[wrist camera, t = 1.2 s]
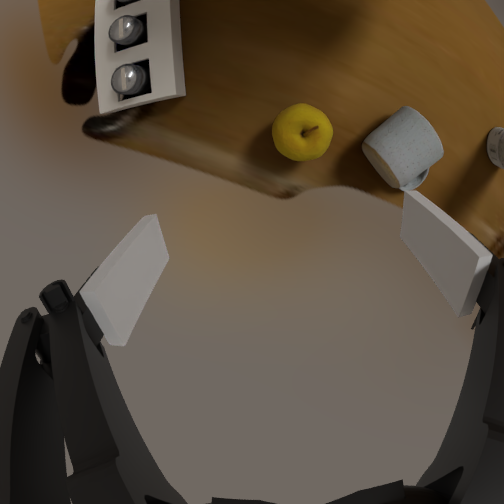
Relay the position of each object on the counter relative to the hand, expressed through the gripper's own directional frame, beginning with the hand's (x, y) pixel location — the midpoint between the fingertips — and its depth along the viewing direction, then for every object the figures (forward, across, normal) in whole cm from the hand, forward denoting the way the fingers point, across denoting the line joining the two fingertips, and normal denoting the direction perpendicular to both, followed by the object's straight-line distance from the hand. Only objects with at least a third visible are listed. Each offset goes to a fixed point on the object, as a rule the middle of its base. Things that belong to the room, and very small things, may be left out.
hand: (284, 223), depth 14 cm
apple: (+21, +3, +2) cm, 22 cm away
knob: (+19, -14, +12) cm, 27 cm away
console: (+21, -14, +18) cm, 31 cm away
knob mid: (+19, -14, +19) cm, 30 cm away
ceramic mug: (+22, +16, 0) cm, 27 cm away
